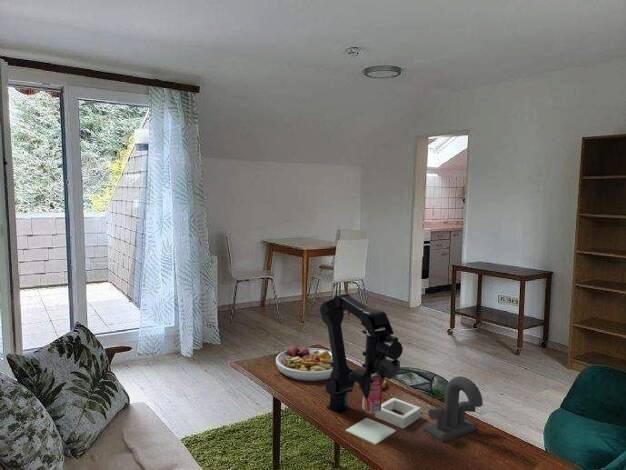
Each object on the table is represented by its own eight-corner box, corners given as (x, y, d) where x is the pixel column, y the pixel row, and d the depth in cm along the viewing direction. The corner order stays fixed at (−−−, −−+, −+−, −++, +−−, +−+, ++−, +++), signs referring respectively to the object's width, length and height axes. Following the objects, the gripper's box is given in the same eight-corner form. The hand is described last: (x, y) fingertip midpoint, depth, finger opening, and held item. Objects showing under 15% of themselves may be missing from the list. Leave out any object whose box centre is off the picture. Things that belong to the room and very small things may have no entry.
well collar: (403, 428, 159) (403, 418, 158) (375, 416, 166) (375, 407, 166) (420, 417, 167) (420, 407, 167) (392, 406, 175) (393, 397, 174)
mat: (375, 444, 148) (375, 443, 148) (345, 431, 156) (345, 429, 156) (396, 431, 157) (396, 430, 157) (366, 418, 165) (366, 417, 165)
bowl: (357, 371, 208) (358, 354, 208) (307, 390, 188) (308, 371, 187) (311, 353, 230) (311, 337, 229) (262, 368, 210) (262, 351, 209)
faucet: (458, 454, 144) (462, 391, 142) (421, 431, 158) (424, 373, 156) (496, 439, 154) (500, 380, 152) (458, 418, 167) (462, 364, 165)
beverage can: (368, 404, 160) (370, 370, 159) (384, 410, 156) (386, 375, 155) (358, 410, 155) (359, 375, 154) (374, 416, 151) (376, 380, 150)
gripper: (378, 363, 141) (376, 413, 143) (410, 349, 155) (408, 394, 157) (349, 354, 149) (347, 401, 150) (382, 341, 163) (380, 384, 164)
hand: (372, 395), depth 155 cm, fingers closed on beverage can, 6 cm apart
